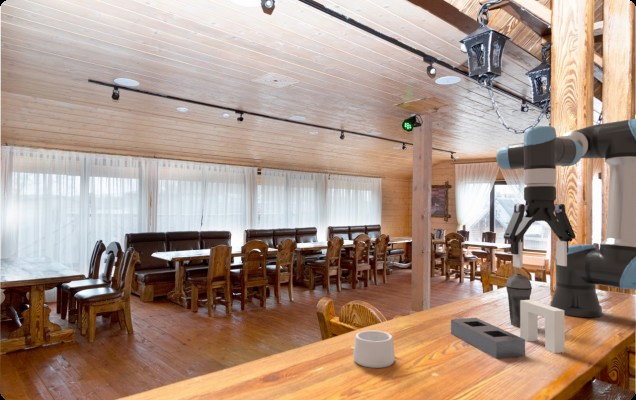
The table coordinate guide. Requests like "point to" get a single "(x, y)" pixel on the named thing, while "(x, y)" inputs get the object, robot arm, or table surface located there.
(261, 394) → the table surface
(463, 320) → the cinder block
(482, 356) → the table surface
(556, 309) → the white arch
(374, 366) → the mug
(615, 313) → the table surface
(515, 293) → the beverage cup
